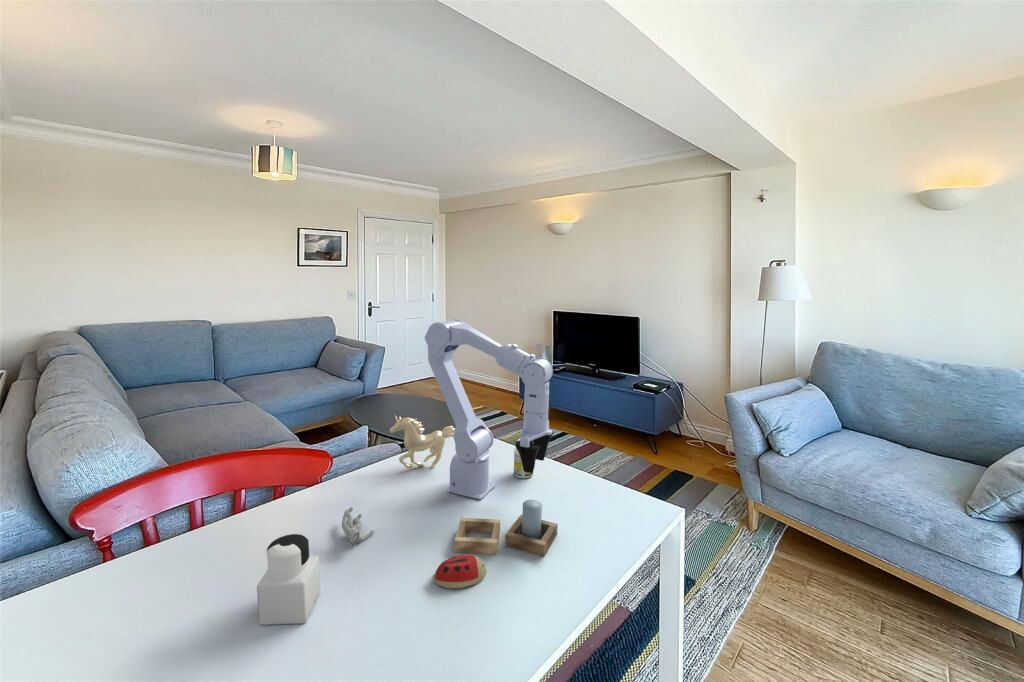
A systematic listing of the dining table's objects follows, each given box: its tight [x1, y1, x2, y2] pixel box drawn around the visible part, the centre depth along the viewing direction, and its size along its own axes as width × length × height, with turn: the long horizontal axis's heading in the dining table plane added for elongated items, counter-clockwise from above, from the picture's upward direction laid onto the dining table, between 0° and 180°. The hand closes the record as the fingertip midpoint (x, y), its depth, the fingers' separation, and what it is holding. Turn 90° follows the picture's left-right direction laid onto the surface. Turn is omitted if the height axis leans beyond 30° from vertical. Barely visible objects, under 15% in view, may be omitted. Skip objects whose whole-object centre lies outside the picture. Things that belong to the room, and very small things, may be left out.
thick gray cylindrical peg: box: [521, 499, 543, 540], centre depth 95 cm, size 4×4×8 cm
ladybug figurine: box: [432, 554, 487, 589], centre depth 83 cm, size 7×10×4 cm
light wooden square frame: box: [453, 517, 501, 555], centre depth 95 cm, size 8×8×2 cm
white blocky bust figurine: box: [256, 533, 321, 626], centre depth 74 cm, size 7×7×12 cm
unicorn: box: [389, 413, 455, 469], centre depth 128 cm, size 20×4×17 cm, turn 121°
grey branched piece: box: [341, 506, 375, 547], centre depth 95 cm, size 8×5×12 cm
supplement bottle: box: [513, 438, 534, 479], centre depth 125 cm, size 5×5×10 cm
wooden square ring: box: [504, 514, 558, 558], centre depth 95 cm, size 8×8×2 cm
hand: (534, 465), depth 109 cm, fingers open, 7 cm apart
